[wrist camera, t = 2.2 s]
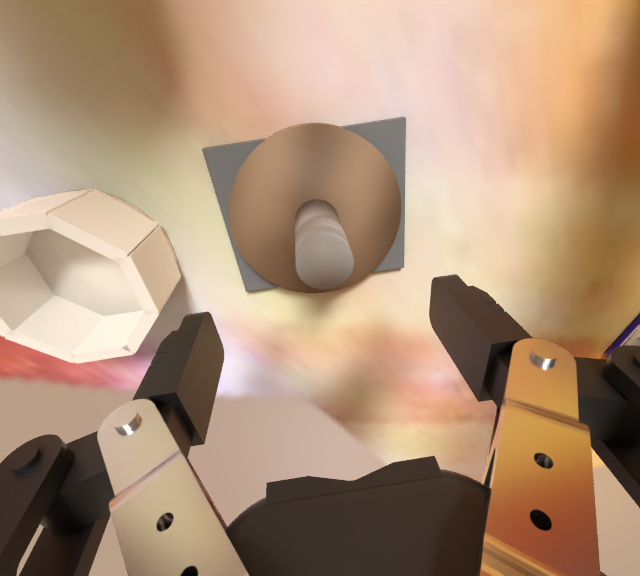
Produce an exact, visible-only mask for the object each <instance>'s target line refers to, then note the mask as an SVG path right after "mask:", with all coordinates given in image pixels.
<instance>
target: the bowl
mask: <svg viewBox="0 0 640 576" xmlns="http://www.w3.org/2000/svg"><path fill="white" fill-rule="evenodd" d="M180 279H181V274H180V271H179V269H178V263H177V258H176V254H175V251H174V249H173V247H172V245H171V243H170V241H169V239H168V238H167V236H166V235H165V233H164V232H163V231H162V229H161V227H160V226H158V224H157V223H156V222H154V221H153V220H152V219H151V218H150V217H149V216H148V215H146V214H145V213H144V212H143V211H141V210H140V209H138V208H136V207H135V206H133V205H132V204H130V203H128V202H126V201H124V200H122V199H119V198H117V197H114V196H112V195H108V194H105V193H103V192H101V191H100V190H98V189H96V190H95V189H87V190H75V191H66V192H62V193H58V194H55V195H49V196H42V197H36V198H32V199H29V200H27V201H24V202H22V203H19V204H17V205H14V206H12V207H10V208H7V209H5V210H2V211H0V335H1V336H2V337H3V336H5V339H8V340H11V341H13V342H16V343H19V344H22V345H24V346H27V347H30V348H33V349H35V350H38V351H41V352H43V353H46V354H49V355H52V356H54V357H57V358H60V359H63V360H65V361H68V362H71V363H73V362H75V363H83V362H89V361H96V360H102V359H109V358H115V357H122V356H129V355H133V354H135V353H136V351H137V350H138V348H139V346H140V345H141V343H142V341H143V340H144V338H145V337H146V335H147V333H148V332H149V330H150V329H151V327H152V325H153V324H154V322H155V320H156V319H157V317H158V316H159V314H160V312H161V311H162V309H163V307H164V306H165V304H166V302H167V301H168V299H169V297H170V296H171V294H172V292H173V290H174V289H175V287H176V285H177V284H178V282H179V280H180Z"/></svg>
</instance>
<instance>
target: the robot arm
mask: <svg viewBox="0 0 640 576" xmlns="http://www.w3.org/2000/svg"><path fill="white" fill-rule="evenodd" d="M429 316H430V322H431V325H432V328H433V330H434V331H435V333H436V335H437V336H438V338H439V339H440V341H441V343H442V344H443V346H444V347H445V349H446V350H447V352H448V354H449V355H450V357H451V358H452V360H453V362H454V363H455V365H456V366H457V368H458V370H459V371H460V373H461V374H462V376H463V378H464V379H465V381H466V382H467V384H468V386H469V387H470V389H471V390H472V392H473V394H474V395H475V397H476V398H477V400H478V402H480V401H487V400H493V401H494V402H495V404H496V405H497V407H496V411H495V416H494V421H493V426H492V432H491V437H490V443H489V448H488V453H487V459H486V464H485V468H484V473H483V477H482V481H481V483H480V482H478V481H476V480H474V479H472V478H469V477H467V476H464V475H462V474H459V473H456V472H451V471H447V470H441V469H440V468H439V466H438V463H437V461H436V458H435V456H431V457H424V458H418V459H412V460H406V461H400V462H393V463H391V464H389V465H387V466H385V467H383V468H381V469H379V470H376V471H374V472H372V473H370V474H368V475H366V476H364V477H361V478H359V479H357V480H354V481H345V480H337V479H328V478H320V477H311V476H306V477H300V478H294V479H288V480H281V481H275V482H269V483H267V489H266V498H263V499H261V500H260V501H258V502H256V503H255V504H253V505H251V506H250V507H249V508H247V509H246V510H245V511H244V512H242V513H241V514H240V515H239V516H238V517H237V518H236V519H235V520H234V521H233V522H232V523H231V524H230V525H229V526H228V527H227V525H226V523H225V522H224V520H223V518H222V517H221V515H220V513H219V512H218V510H217V508H216V506H215V505H214V503H213V501H212V500H211V498H210V496H209V494H208V492H207V491H206V489H205V487H204V486H203V484H202V482H201V480H200V479H199V477H198V475H197V473H196V471H195V470H194V468H193V466H192V465H191V463H190V461H189V459H188V458H187V457H188V454H189V450H190V446H195V445H202V444H204V443H205V438H206V434H207V430H208V426H209V421H210V417H211V413H212V409H213V404H214V400H215V396H216V392H217V387H218V383H219V379H220V374H221V370H222V366H223V362H224V349H223V345H222V342H221V339H220V337H219V334H218V331H217V329H216V326H215V324H214V321H213V318H212V316H211V314H210V313H209V312H202V313H195V314H189V315H186V316H185V317H184V319H183V321H182V323H181V326H180V328H179V330H177V331H172V332H171V333H170V334H169V335H168V336H167V337H166V338H165V339H164V340H163V341H162V342H161V344H160V346H159V348H158V350H157V352H156V356H154V358H153V360H152V362H151V366H149V368H148V370H147V372H146V374H145V376H144V378H143V380H142V382H141V384H140V386H139V388H138V390H137V392H136V394H135V396H134V398H133V400H132V401H130V402H128V403H126V404H123V405H122V406H120V407H118V408H117V409H115V410H114V411H113V412H112V413H111V414H110V415H108V416H107V418H106V419H105V420H104V421H103V423H102V424H101V426H100V428H99V430H98V431H97V432H94V433H92V434H89V435H87V436H85V437H82V438H80V439H77V440H75V441H72V442H70V443H68V444H65V443H64V442H63V441H62V440H61V439H60V438H59V437H58V436H56V435H43V436H40V437H37V438H34V439H32V440H30V441H28V442H26V443H25V444H23V445H21V446H20V447H18V448H17V449H16V450H14V451H13V452H12V453H11V454H10V455H8V456H7V457H6V458H5V459H4V460H3V461H2V462H1V463H0V576H16V574H17V569H18V565H19V562H20V561H21V558H22V557H23V555H24V553H25V551H26V549H27V547H28V545H29V543H30V541H31V539H32V538H33V536H34V534H35V532H36V530H37V528H38V526H39V524H41V525H42V526H44V528H43V530H42V532H41V534H40V536H39V538H38V540H37V542H36V544H35V546H34V547H33V549H32V551H31V553H30V555H29V557H28V559H27V561H26V563H25V565H24V567H23V569H22V571H21V573H20V575H19V576H88V575H89V572H90V569H91V566H92V564H93V561H94V558H95V555H96V553H97V550H98V547H99V544H100V542H101V539H102V536H103V533H104V531H105V528H106V525H107V523H108V520H109V517H110V515H111V517H112V520H113V524H114V527H115V531H116V535H117V538H118V542H119V545H120V548H121V552H122V556H123V559H124V563H125V566H126V570H127V573H128V576H606V575H605V574H604V573H602V572H601V571H600V563H599V548H598V535H597V521H596V508H595V495H594V480H593V467H592V453H591V447H592V448H593V450H594V451H595V452H596V453H597V455H598V456H599V457H600V458H601V460H602V461H603V462H604V463H605V465H606V466H607V467H608V468H609V470H610V471H611V472H612V473H613V475H614V476H615V477H616V479H617V480H618V481H619V482H620V484H621V485H622V486H623V487H624V489H625V490H626V491H627V492H628V494H629V495H630V496H631V497H632V499H633V500H634V501H635V502H636V504H637V505H638V506H639V508H640V346H635V345H623V346H619V347H616V348H614V349H613V350H612V352H611V353H610V355H609V357H608V359H607V360H603V359H591V358H579V357H573V356H572V355H571V354H570V353H569V352H568V351H567V350H566V349H564V348H563V347H561V346H559V345H557V344H555V343H553V342H550V341H547V340H543V339H535V338H532V337H531V336H530V335H529V334H528V333H527V332H526V331H525V330H524V329H523V328H522V327H521V326H520V325H519V324H518V323H517V322H516V321H515V320H514V319H513V318H512V317H511V316H510V315H509V314H508V313H507V312H504V309H503V308H502V307H501V306H500V305H499V304H496V301H495V300H494V299H493V298H492V297H491V296H490V295H489V294H488V293H486V292H484V291H482V290H481V289H479V288H477V287H475V286H467V285H466V284H465V283H464V282H463V281H462V279H461V278H460V277H459V276H458V275H455V274H454V275H448V276H441V277H435V278H433V280H432V285H431V298H430V310H429Z"/></svg>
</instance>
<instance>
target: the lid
mask: <svg viewBox="0 0 640 576" xmlns="http://www.w3.org/2000/svg"><path fill="white" fill-rule="evenodd" d="M401 210H402V205H401V194H400V189H399V185H398V182H397V179H396V176H395V174H394V172H393V170H392V168H391V166H390V164H389V163H388V162H387V160H386V159H385V158H384V156H383V155H382V154H381V153H380V152H379V151H378V150H377V149H376V148H375V147H374V146H373V145H372V144H371V143H369V142H368V141H367V140H365V139H364V138H363V137H361V136H359V135H357V134H356V133H354V132H352V131H350V130H347V129H345V128H342V127H339V126H335V125H330V124H322V123H309V124H300V125H296V126H292V127H289V128H286V129H284V130H281V131H279V132H277V133H275V134H273V135H272V136H270V137H268V138H267V139H265V140H264V141H263V142H262V143H260V144H259V145H258V146H257V147H256V148H255V149H254V150H253V151H252V152H251V153H250V154H249V156H248V157H247V159H246V160H245V162H244V163H243V164H242V166H241V167H240V169H239V171H238V173H237V175H236V177H235V180H234V183H233V186H232V189H231V193H230V198H229V223H230V228H231V232H232V235H233V238H234V241H235V243H236V246H237V247H238V249H239V251H240V253H241V255H242V256H243V257H244V259H245V260H246V262H247V263H248V264H249V265H250V266H251V267H252V268H253V269H254V270H255V271H256V272H257V273H258V274H260V275H261V276H262V277H264V278H265V279H267V280H268V281H270V282H272V283H274V284H276V285H278V286H280V287H283V288H286V289H288V290H292V291H297V292H304V293H323V292H330V291H335V290H338V289H342V288H345V287H347V286H349V285H352V284H354V283H356V282H357V281H359V280H361V279H362V278H364V277H365V276H367V275H368V274H369V273H371V272H372V271H373V270H374V269H375V268H376V267H377V266H378V265H379V264H380V263H381V261H382V260H383V259H384V258H385V257H386V255H387V253H388V252H389V250H390V249H391V247H392V245H393V243H394V241H395V239H396V236H397V233H398V230H399V225H400V220H401Z"/></svg>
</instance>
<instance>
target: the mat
mask: <svg viewBox="0 0 640 576" xmlns="http://www.w3.org/2000/svg"><path fill="white" fill-rule="evenodd" d="M342 128H345V129H347V130H350V131H352V132H354V133H356V134H357V135H359V136H361V137H363V138H364V139H365V140H367V141H368V142H369V143H371V144H372V145H373V146H374V147H375V148H376V149H377V150H378V151H379V152H380V153H381V154H382V155H383V156H384V158H385V159H386V160H387V162H388V163H389V164H390V166H391V168H392V170H393V172H394V174H395V176H396V179H397V182H398V185H399V189H400V194H401V205H402V210H401V220H400V225H399V230H398V233H397V236H396V239H395V241H394V243H393V245H392V247H391V249H390V250H389V252H388V253H387V255H386V257H385V258H384V259H383V260H382V261H381V263H380V264H379V265H378V266H377V267H376V268H375V269H374V270H373V271H372V272H378V271H384V270H391V269H397V268H404V225H405V138H406V118H405V117H399V118H393V119H386V120H380V121H374V122H367V123H361V124H355V125H348V126H342ZM265 139H267V138H265ZM265 139H259V140H252V141H246V142H240V143H233V144H227V145H221V146H214V147H208V148H204V149H202V150H203V154H204V157H205V160H206V163H207V167H208V170H209V173H210V176H211V180H212V183H213V186H214V189H215V193H216V196H217V199H218V202H219V205H220V209H221V212H222V215H223V218H224V222H225V225H226V228H227V231H228V235H229V238H230V241H231V244H232V247H233V251H234V254H235V257H236V260H237V264H238V267H239V270H240V273H241V277H242V280H243V283H244V286H245V290H246V292H247V291H254V290H260V289H267V288H273V287H280V286H278V285H276V284H274V283H272V282H270V281H268V280H267V279H265V278H264V277H262V276H261V275H260V274H258V273H257V272H256V271H255V270H254V269H253V268H252V267H251V266H250V265H249V264H248V263H247V262H246V260H245V259H244V257H243V256H242V255H241V253H240V251H239V249H238V247H237V246H236V243H235V241H234V238H233V235H232V232H231V228H230V223H229V198H230V193H231V189H232V186H233V183H234V180H235V177H236V175H237V173H238V171H239V169H240V167H241V166H242V164H243V163H244V162H245V160H246V159H247V157H248V156H249V154H250V153H251V152H252V151H253V150H254V149H255V148H256V147H257V146H258V145H259V144H260V143H262V142H263V141H264V140H265Z"/></svg>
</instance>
